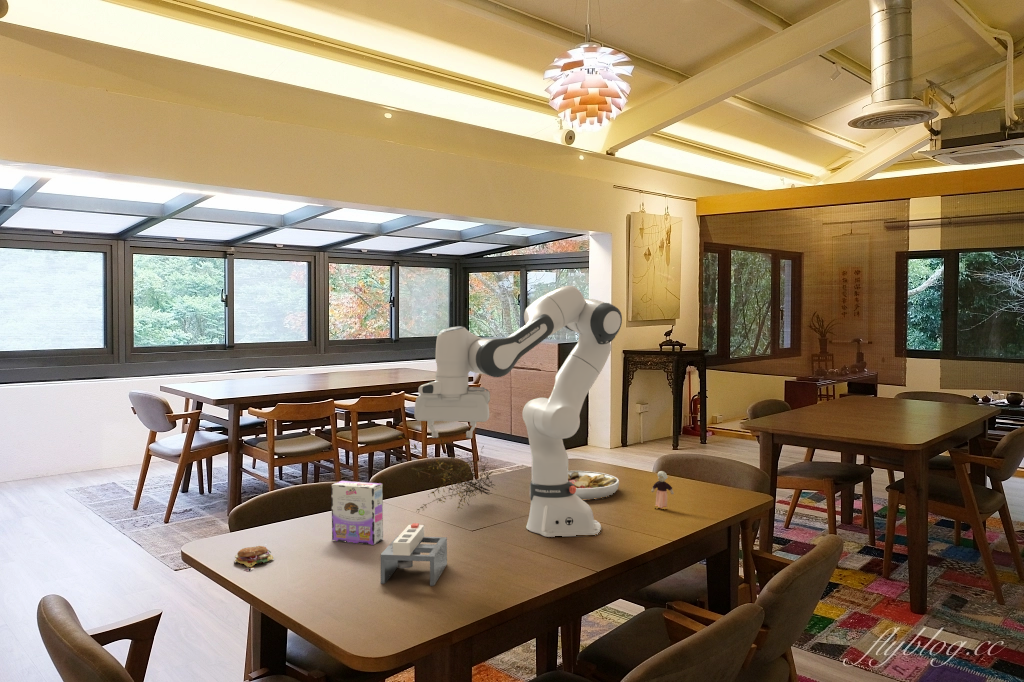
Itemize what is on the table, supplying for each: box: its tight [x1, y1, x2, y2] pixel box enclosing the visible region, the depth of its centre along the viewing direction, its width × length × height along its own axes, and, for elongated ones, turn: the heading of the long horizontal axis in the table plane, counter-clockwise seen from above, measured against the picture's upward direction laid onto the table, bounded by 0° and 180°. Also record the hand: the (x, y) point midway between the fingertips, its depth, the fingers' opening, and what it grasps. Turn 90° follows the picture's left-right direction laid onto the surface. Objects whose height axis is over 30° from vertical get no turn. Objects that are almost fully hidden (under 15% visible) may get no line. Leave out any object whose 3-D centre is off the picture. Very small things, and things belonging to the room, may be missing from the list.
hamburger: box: [233, 545, 274, 571], centre depth 183 cm, size 14×14×6 cm
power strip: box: [393, 522, 425, 569], centre depth 176 cm, size 4×15×7 cm, turn 174°
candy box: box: [330, 480, 384, 546], centre depth 202 cm, size 14×6×16 cm, turn 71°
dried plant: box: [394, 429, 497, 514], centre depth 228 cm, size 30×31×45 cm
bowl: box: [568, 470, 620, 499], centre depth 260 cm, size 30×30×8 cm
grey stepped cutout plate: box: [380, 535, 448, 587], centre depth 176 cm, size 13×15×7 cm
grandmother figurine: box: [650, 470, 675, 509], centre depth 236 cm, size 8×4×13 cm, turn 68°
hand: (452, 437), depth 192 cm, fingers open, 8 cm apart
